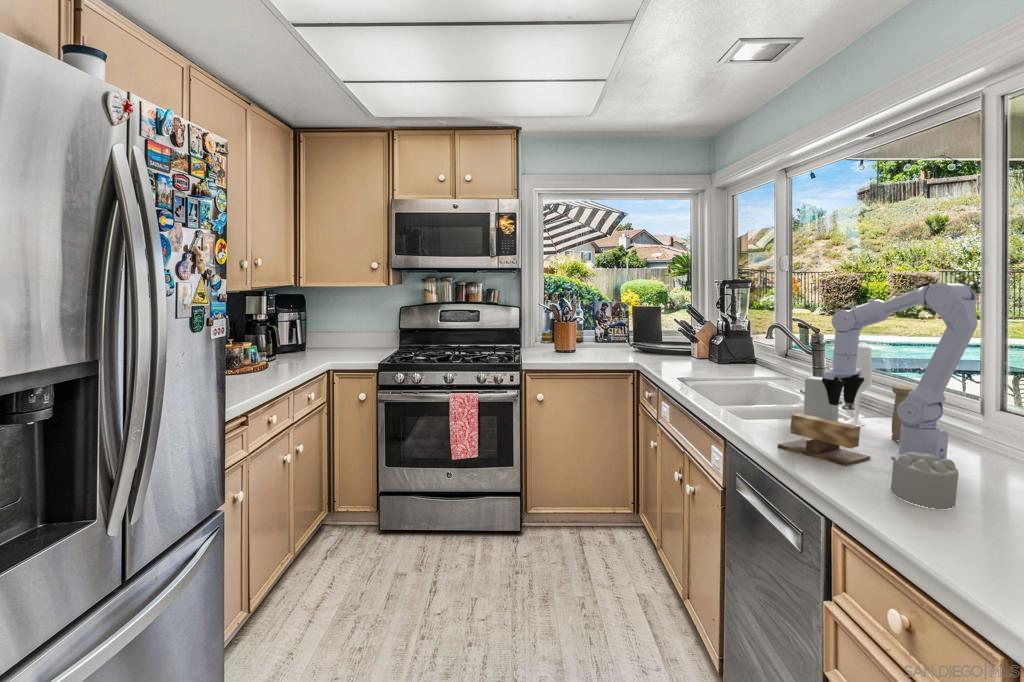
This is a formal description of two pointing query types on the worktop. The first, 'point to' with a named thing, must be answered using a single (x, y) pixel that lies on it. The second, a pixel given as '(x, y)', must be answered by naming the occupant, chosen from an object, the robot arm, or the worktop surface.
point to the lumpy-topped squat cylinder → (925, 480)
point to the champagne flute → (866, 367)
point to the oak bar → (825, 430)
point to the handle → (900, 396)
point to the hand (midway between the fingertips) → (841, 403)
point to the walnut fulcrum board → (824, 451)
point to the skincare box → (818, 400)
